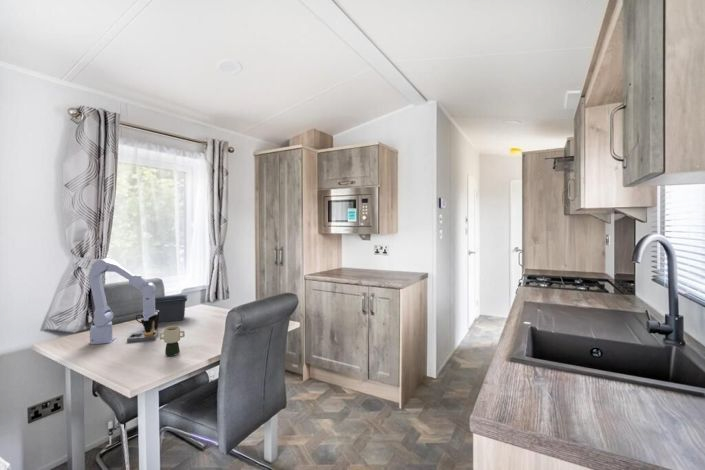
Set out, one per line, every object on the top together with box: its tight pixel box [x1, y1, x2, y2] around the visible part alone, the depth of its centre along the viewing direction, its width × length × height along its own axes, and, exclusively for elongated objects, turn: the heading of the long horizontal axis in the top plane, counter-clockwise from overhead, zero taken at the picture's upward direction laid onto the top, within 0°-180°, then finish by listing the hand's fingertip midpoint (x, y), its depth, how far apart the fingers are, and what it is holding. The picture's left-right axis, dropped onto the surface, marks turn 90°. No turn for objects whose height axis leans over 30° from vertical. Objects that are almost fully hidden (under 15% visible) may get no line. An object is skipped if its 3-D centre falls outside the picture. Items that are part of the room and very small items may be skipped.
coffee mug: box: [135, 310, 159, 330], centre depth 210 cm, size 12×9×10 cm
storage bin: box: [155, 294, 188, 323], centre depth 228 cm, size 21×16×14 cm
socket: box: [126, 331, 159, 343], centre depth 192 cm, size 13×9×2 cm
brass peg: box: [143, 321, 156, 336], centre depth 193 cm, size 4×4×9 cm
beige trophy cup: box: [158, 325, 186, 357], centre depth 170 cm, size 11×7×13 cm, turn 110°
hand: (149, 330), depth 193 cm, fingers open, 7 cm apart
